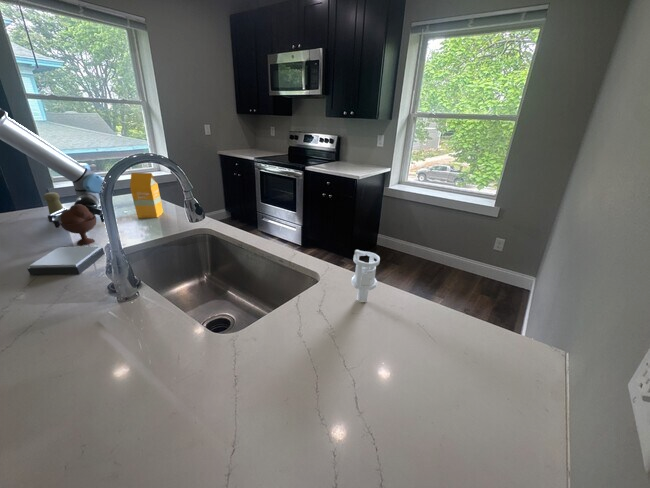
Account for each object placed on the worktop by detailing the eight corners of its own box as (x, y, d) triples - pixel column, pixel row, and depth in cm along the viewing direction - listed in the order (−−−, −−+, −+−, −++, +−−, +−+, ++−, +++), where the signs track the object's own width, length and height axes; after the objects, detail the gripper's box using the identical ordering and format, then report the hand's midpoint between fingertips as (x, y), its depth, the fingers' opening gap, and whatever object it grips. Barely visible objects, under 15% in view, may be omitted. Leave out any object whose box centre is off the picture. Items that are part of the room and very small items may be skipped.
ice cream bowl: (99, 234, 120) (88, 198, 113) (105, 243, 113) (94, 205, 106) (65, 241, 113) (52, 203, 107) (70, 251, 106) (55, 211, 100)
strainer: (357, 290, 90) (362, 245, 84) (378, 298, 87) (384, 252, 80) (345, 300, 85) (349, 254, 79) (367, 310, 81) (372, 262, 75)
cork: (46, 218, 134) (37, 194, 129) (59, 213, 139) (51, 190, 134) (58, 219, 133) (49, 195, 128) (70, 215, 138) (62, 191, 133)
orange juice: (144, 212, 145) (135, 171, 136) (163, 212, 146) (155, 171, 137) (137, 217, 138) (126, 174, 129) (157, 217, 139) (148, 175, 130)
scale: (29, 275, 91) (25, 266, 90) (61, 254, 104) (58, 246, 102) (79, 274, 93) (76, 265, 91) (104, 253, 105) (102, 245, 104)
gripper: (123, 210, 134) (121, 225, 117) (51, 218, 122) (38, 236, 106) (118, 193, 131) (117, 207, 114) (44, 200, 119) (30, 216, 103)
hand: (79, 221), depth 110 cm, fingers open, 13 cm apart
